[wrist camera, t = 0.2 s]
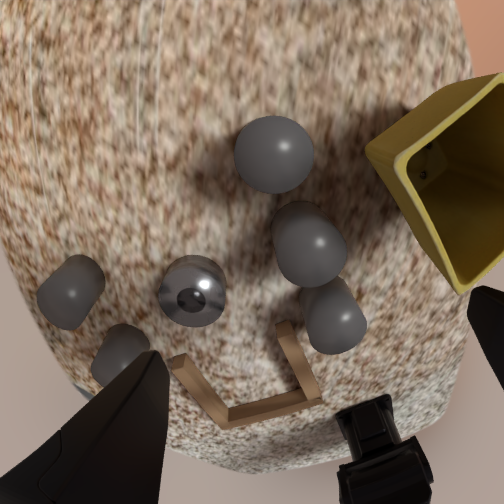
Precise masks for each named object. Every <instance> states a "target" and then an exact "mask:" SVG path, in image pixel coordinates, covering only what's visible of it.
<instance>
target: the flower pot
mask: <svg viewBox="0 0 504 504" xmlns="http://www.w3.org/2000/svg"><path fill="white" fill-rule="evenodd" d="M429 142H430V144H431V146H430V148H429V149H427V148H426V146H425V145H426V144H428V143H429ZM365 155H366V157H367V158H368V160H369V161H370V163H371V164H372V166H373V167H374V169H375V170H376V171H377V173H378V174H379V176H380V178H381V179H382V181H383V182H384V184H385V185H386V187H387V188H388V190H389V192H390V193H391V195H392V196H393V198H394V200H395V201H396V203H397V205H398V207H399V208H400V210H401V212H402V213H403V215H404V217H405V219H406V221H407V222H408V224H409V226H410V228H411V230H412V232H413V234H414V236H415V238H416V239H417V241H418V243H419V244H420V246H421V247H422V249H423V250H424V251H425V253H426V254H427V255H428V256H429V258H430V259H431V260H432V262H433V263H434V264H435V265H436V267H437V268H438V269H439V271H440V272H441V273H442V275H443V276H444V277H445V279H446V280H447V281H448V283H449V284H450V285H451V287H452V288H453V290H454V291H455V292H456V293H457V294H458V295H461V294H463V293H464V292H465V291H467V290H468V289H470V288H471V287H472V286H473V285H474V284H476V283H477V282H478V281H479V280H480V279H481V278H483V277H484V276H485V275H486V274H487V273H488V272H489V271H490V270H491V269H492V268H493V267H494V266H495V265H496V264H497V263H498V262H499V261H500V260H501V259H502V258H503V257H504V73H502V72H501V73H496V74H492V75H487V76H482V77H477V78H472V79H468V80H464V81H460V82H456V83H453V84H450V85H447V86H445V87H443V88H441V89H440V90H438V91H436V92H435V93H433V94H432V95H431V96H429V97H428V98H427V99H426V100H424V101H423V102H422V103H421V104H419V105H418V106H417V107H415V108H414V109H413V110H412V111H410V112H409V113H408V114H406V115H405V116H404V117H402V118H401V119H400V120H398V121H397V122H396V123H394V124H393V125H392V126H391V127H389V128H388V129H387V130H385V131H384V132H383V133H381V134H380V135H379V136H377V137H376V138H375V139H373V140H372V141H371V142H369V143H368V144H367V145H366V147H365ZM422 171H425V172H426V176H425V178H421V176H420V174H421V172H422Z"/></svg>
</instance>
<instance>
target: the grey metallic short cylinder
mask: <svg viewBox="0 0 504 504" xmlns="http://www.w3.org/2000/svg"><path fill="white" fill-rule="evenodd" d="M225 297H226V278H225V275H224V272H223V271H222V269H221V268H220V267H219V265H217V264H216V263H215V262H214V261H212V260H211V259H209V258H207V257H204V256H199V255H187V256H184V257H181V258H179V259H177V260H176V261H174V262H173V263H172V264H171V265H170V267H169V268H168V270H167V273H166V275H165V277H164V279H163V282H162V284H161V286H160V289H159V294H158V298H159V303H160V306H161V308H162V310H163V311H164V313H165V314H166V315H167V316H168V317H169V318H170V319H171V320H173V321H174V322H176V323H178V324H180V325H183V326H187V327H203V326H207V325H209V324H211V323H213V322H214V321H216V320H217V319H218V318H219V317H220V316H221V314H222V312H223V310H224V306H225Z"/></svg>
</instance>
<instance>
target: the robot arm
mask: <svg viewBox="0 0 504 504" xmlns="http://www.w3.org/2000/svg"><path fill="white" fill-rule="evenodd" d="M467 317H468V320H469V322H470V324H471V326H472V328H473V330H474V332H475V334H476V337H477V339H478V341H479V343H480V345H481V348H482V349H483V352H484V354H485V356H486V358H487V360H488V362H489V364H490V366H491V367H492V369H493V371H494V373H495V375H496V377H497V378H498V380H499V382H500V384H501V386H502V388H503V390H504V292H502V291H499V290H496V289H493V288H490V287H487V286H479V287H476V288H474V289H473V290H472V291H471V295H470V300H469V304H468V309H467ZM169 387H170V376H169V372H168V369H167V367H166V365H165V363H164V361H163V359H162V357H161V355H160V353H159V352H158V351H156V350H151V351H144V352H142V353H141V354H140V355H139V356H138V357H136V358H135V359H134V360H133V361H132V362H131V363H130V364H129V365H128V366H127V367H126V368H125V369H124V370H123V371H121V372H120V373H119V374H118V375H117V376H116V377H115V378H114V379H113V380H112V381H111V382H110V383H109V384H107V385H106V386H105V387H104V388H103V389H102V390H101V391H100V392H99V393H98V394H97V395H96V396H95V397H93V398H92V399H91V400H90V401H89V402H88V403H87V404H86V405H85V406H84V407H83V408H82V409H81V410H79V411H78V412H77V413H76V414H75V415H74V416H73V417H72V418H71V419H70V420H69V421H68V422H67V423H65V424H64V425H63V426H62V427H61V430H58V431H57V432H56V433H55V434H54V435H53V436H51V437H50V438H49V439H48V440H47V441H46V442H45V443H44V444H43V445H41V446H40V447H39V448H38V449H37V450H36V451H34V452H33V453H32V454H31V455H29V456H28V457H27V458H26V459H24V460H23V461H22V462H20V463H19V464H18V465H16V466H15V467H14V468H12V469H11V470H10V471H8V472H7V473H6V474H5V475H3V476H2V477H0V504H158V500H159V491H160V482H161V474H162V467H163V459H164V451H165V444H166V438H167V430H168V414H169ZM336 419H337V421H338V424H339V426H340V429H341V431H342V434H343V436H344V438H345V440H347V441H348V445H349V448H350V452H351V456H352V459H353V462H351V463H348V464H342V465H340V466H339V468H340V470H339V471H338V472H337V477H338V481H339V501H340V504H430V501H431V495H432V490H431V488H430V484H431V483H433V481H434V480H433V475H432V471H431V468H430V465H429V462H428V460H427V458H426V456H425V454H424V452H423V450H422V448H421V446H420V444H419V442H418V440H417V438H416V436H412V437H410V439H408V440H405V441H403V442H402V440H401V438H400V435H399V433H398V430H397V428H396V425H395V423H394V416H393V407H392V399H391V396H390V395H389V394H387V395H384V396H382V397H379V398H377V399H375V400H372V401H370V402H367V403H364V404H362V405H359V406H357V407H354V408H351V409H348V410H346V411H343V412H340V413H338V414H336Z"/></svg>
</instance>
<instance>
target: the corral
mask: <svg viewBox="0 0 504 504" xmlns="http://www.w3.org/2000/svg"><path fill="white" fill-rule="evenodd" d="M275 326H276V333H277V339H278V341H279V343H280V345H281V347H282V349H283V351H284V353H285V355H286V357H287V359H288V361H289V363H290V365H291V367H292V369H293V371H294V373H295V375H296V377H297V379H298V381H299V383H300V385H301V387H302V388H300V389H297V390H294V391H290V392H287V393H284V394H280V395H277V396H274V397H270V398H267V399H263V400H259V401H256V402H252V403H248V404H244V405H240V406H236V407H232V408H228V407H227V406H226V405H225V403H224V402H223V401H222V400H221V398H220V397H219V396H218V395H217V393H216V392H215V391H214V390H213V388H212V387H211V386H210V384H209V383H208V382H207V381H206V379H205V378H204V377H203V375H202V374H201V373H200V371H199V370H198V369H197V367H196V366H195V365H194V363H193V362H192V360H191V359H190V358H189V356H188V355H187V354H186V353H185V354H181V355H178V356H175V357H174V361H173V365H172V369H171V371H172V372H173V373H174V375H175V376H176V377H177V378H178V380H179V381H180V382H181V383H182V384H183V386H184V387H185V388H186V389H187V390H188V392H189V393H190V394H191V395H192V396H193V397H194V399H195V400H196V401H197V402H198V403H199V404H200V406H201V407H202V408H203V409H204V410H205V411H206V412H207V413H208V415H209V416H210V417H211V418H212V419H213V420H214V421H215V422H216V423H217V424H218V426H219V427H220V428H221V429H222V430H224V429H229V428H234V427H238V426H243V425H247V424H252V423H256V422H260V421H264V420H268V419H272V418H275V417H279V416H283V415H286V414H290V413H293V412H297V411H300V410H303V409H306V408H310V407H313V406H316V405H319V404H322V403H323V400H322V395H321V391H320V388H319V386H318V384H317V382H316V379H315V377H314V375H313V372H312V370H311V368H310V365H309V363H308V361H307V359H306V356H305V354H304V352H303V349H302V347H301V345H300V343H299V340H298V338H297V336H296V333H295V331H294V329H293V327H292V324H291V322H290V320H287V321H284V322H281V323H278V324H275Z"/></svg>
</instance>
